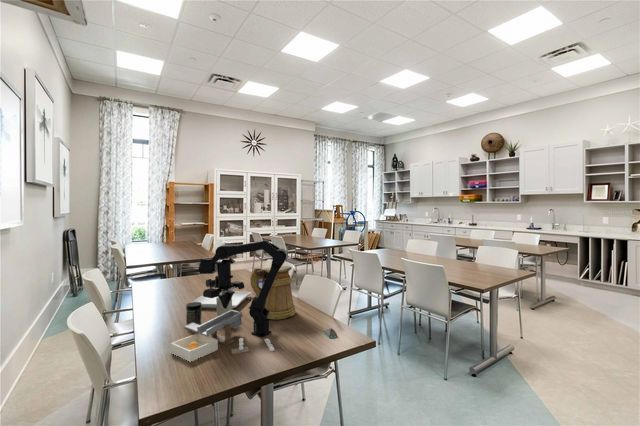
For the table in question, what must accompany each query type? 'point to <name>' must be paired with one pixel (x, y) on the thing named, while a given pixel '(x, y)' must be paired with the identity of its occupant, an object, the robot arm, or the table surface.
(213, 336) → the pivot stand
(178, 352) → the white open tray
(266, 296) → the robot arm
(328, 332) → the game pieces
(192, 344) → the ball
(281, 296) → the tankard
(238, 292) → the square plate
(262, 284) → the walkman
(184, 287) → the table surface
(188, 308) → the supplement container
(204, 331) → the tipping lever
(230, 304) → the skincare box
